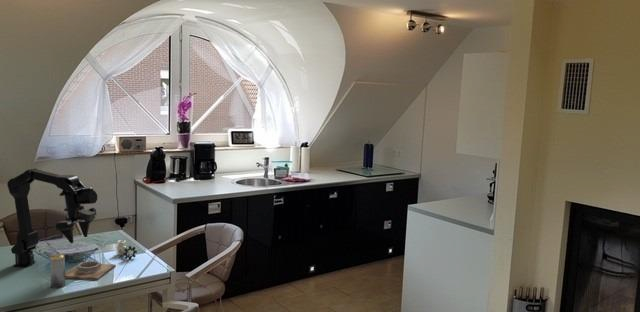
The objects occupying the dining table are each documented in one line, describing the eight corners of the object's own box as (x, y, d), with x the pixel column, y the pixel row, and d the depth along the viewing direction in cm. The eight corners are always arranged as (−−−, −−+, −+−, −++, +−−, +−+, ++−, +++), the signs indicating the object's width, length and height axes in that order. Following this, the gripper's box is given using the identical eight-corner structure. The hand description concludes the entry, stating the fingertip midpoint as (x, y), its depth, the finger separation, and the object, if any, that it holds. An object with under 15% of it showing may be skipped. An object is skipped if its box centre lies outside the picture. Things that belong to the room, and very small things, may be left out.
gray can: (48, 287, 202) (47, 257, 200) (55, 282, 207) (54, 253, 205) (60, 288, 202) (59, 258, 200) (67, 283, 207) (67, 254, 205)
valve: (113, 254, 244) (123, 261, 235) (112, 241, 243) (123, 247, 234) (126, 251, 248) (137, 258, 240) (126, 238, 247) (137, 244, 239)
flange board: (61, 277, 213) (60, 269, 212) (81, 264, 228) (81, 257, 228) (97, 280, 212) (97, 272, 211) (115, 266, 227) (115, 259, 227)
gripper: (75, 208, 207) (81, 245, 208) (103, 199, 225) (108, 233, 226) (51, 210, 209) (57, 246, 210) (81, 200, 227) (86, 234, 229)
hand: (78, 240), depth 219 cm, fingers open, 9 cm apart
